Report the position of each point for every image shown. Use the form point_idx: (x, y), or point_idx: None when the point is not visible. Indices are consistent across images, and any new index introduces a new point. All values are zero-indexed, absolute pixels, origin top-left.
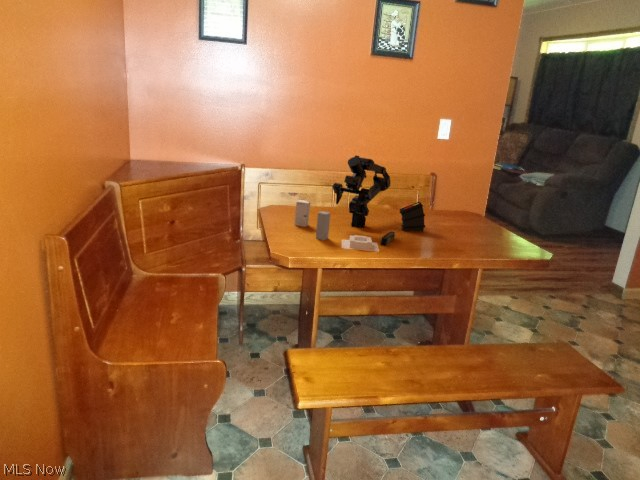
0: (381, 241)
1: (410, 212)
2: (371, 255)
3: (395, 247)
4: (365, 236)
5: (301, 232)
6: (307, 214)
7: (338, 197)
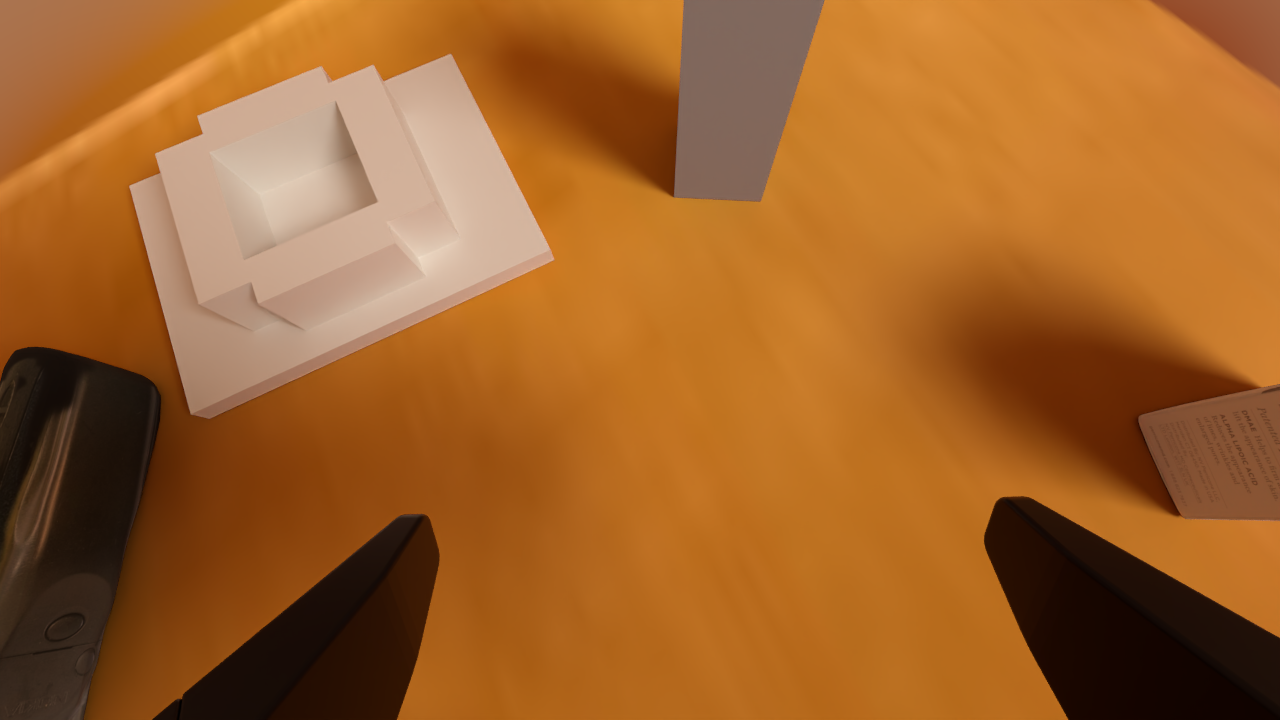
0: (102, 365)
1: None
2: None
3: None
4: (264, 286)
5: (1012, 227)
6: None
7: (1204, 668)
